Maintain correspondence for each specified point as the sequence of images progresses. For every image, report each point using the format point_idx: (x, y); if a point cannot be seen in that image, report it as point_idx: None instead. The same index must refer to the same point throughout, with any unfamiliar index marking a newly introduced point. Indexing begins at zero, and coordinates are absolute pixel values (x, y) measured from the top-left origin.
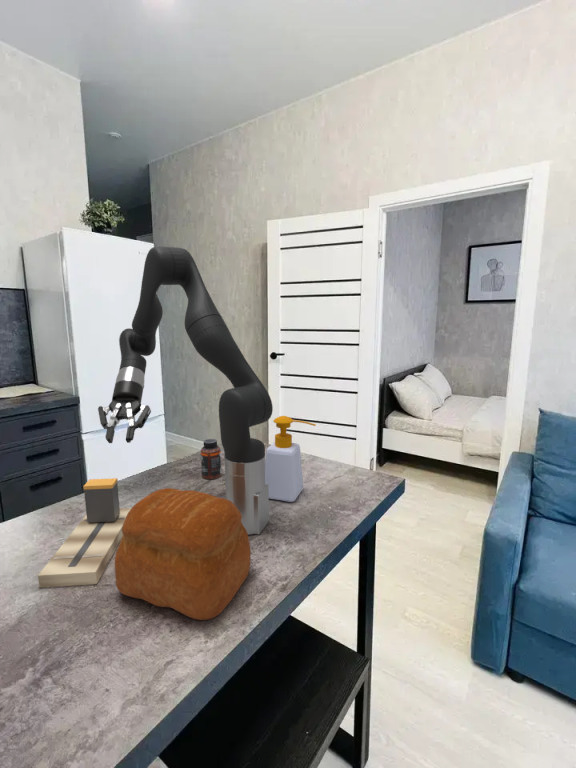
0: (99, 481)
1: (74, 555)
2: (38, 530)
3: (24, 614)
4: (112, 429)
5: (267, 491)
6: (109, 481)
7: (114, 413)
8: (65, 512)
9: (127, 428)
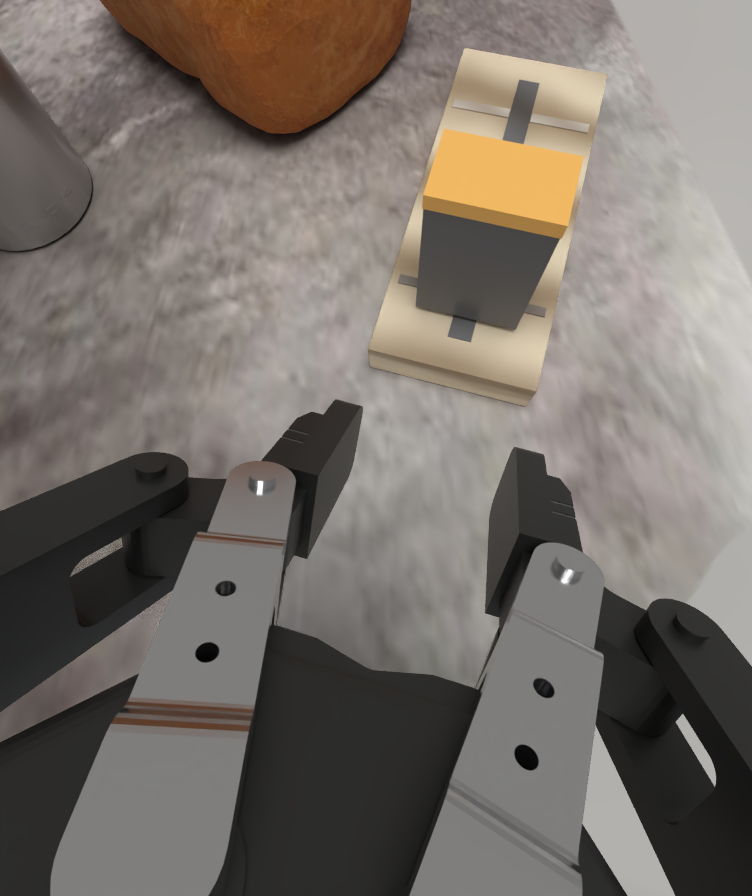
0: (511, 183)
1: (532, 125)
2: (701, 391)
3: (597, 41)
4: (511, 533)
5: None
6: (460, 168)
7: (539, 703)
8: (640, 505)
9: (325, 460)
